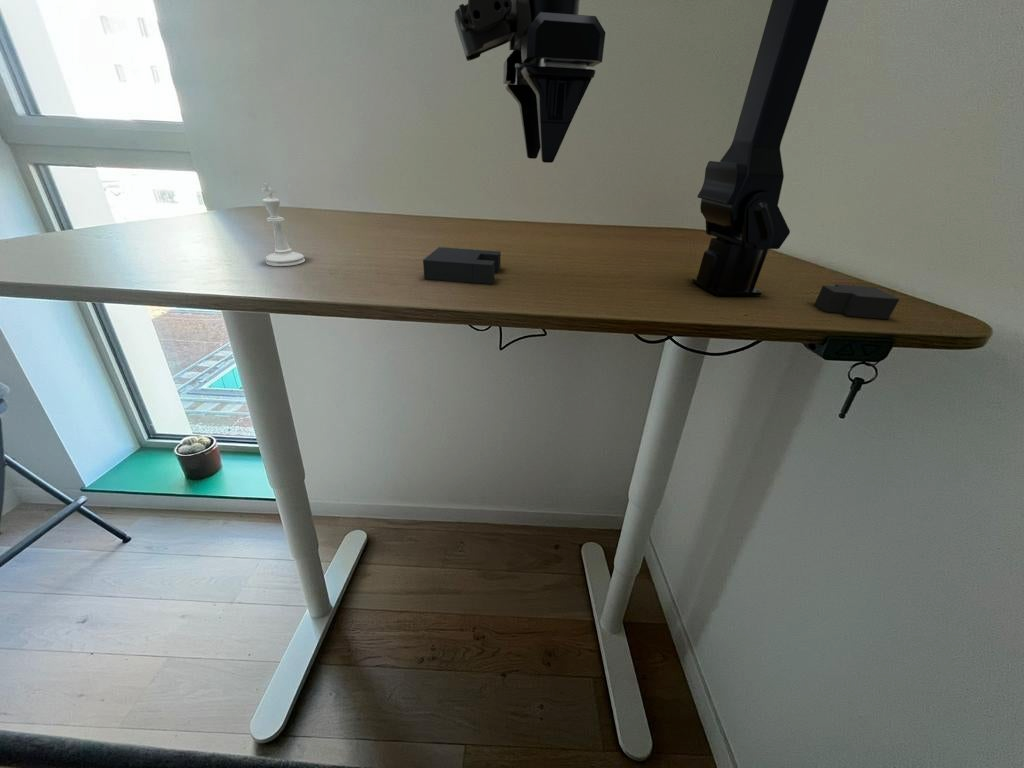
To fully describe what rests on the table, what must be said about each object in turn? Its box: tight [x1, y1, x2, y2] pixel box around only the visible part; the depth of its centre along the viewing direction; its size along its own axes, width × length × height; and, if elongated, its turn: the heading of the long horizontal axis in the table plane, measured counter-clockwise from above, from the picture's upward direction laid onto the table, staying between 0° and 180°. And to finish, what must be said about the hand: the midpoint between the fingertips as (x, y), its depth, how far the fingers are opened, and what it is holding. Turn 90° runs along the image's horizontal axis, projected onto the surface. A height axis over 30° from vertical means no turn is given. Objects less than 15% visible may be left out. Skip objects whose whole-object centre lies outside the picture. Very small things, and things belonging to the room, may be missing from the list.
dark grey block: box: [814, 283, 900, 320], centre depth 48 cm, size 6×4×2 cm
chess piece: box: [260, 182, 306, 267], centre depth 54 cm, size 5×5×10 cm
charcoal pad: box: [422, 246, 502, 285], centre depth 54 cm, size 9×8×2 cm
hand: (539, 160), depth 43 cm, fingers open, 9 cm apart
